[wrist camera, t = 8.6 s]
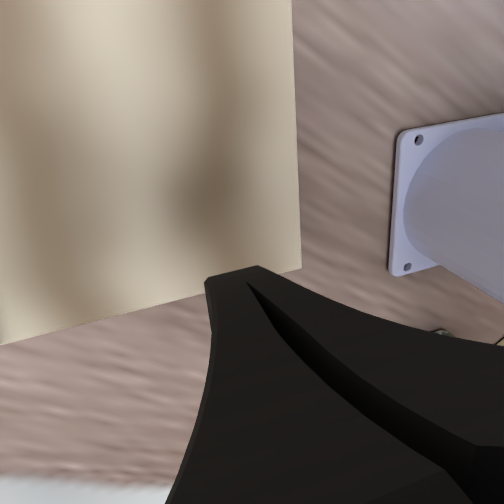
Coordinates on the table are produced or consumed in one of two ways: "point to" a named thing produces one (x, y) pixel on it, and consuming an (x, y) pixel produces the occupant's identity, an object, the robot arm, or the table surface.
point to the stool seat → (141, 153)
